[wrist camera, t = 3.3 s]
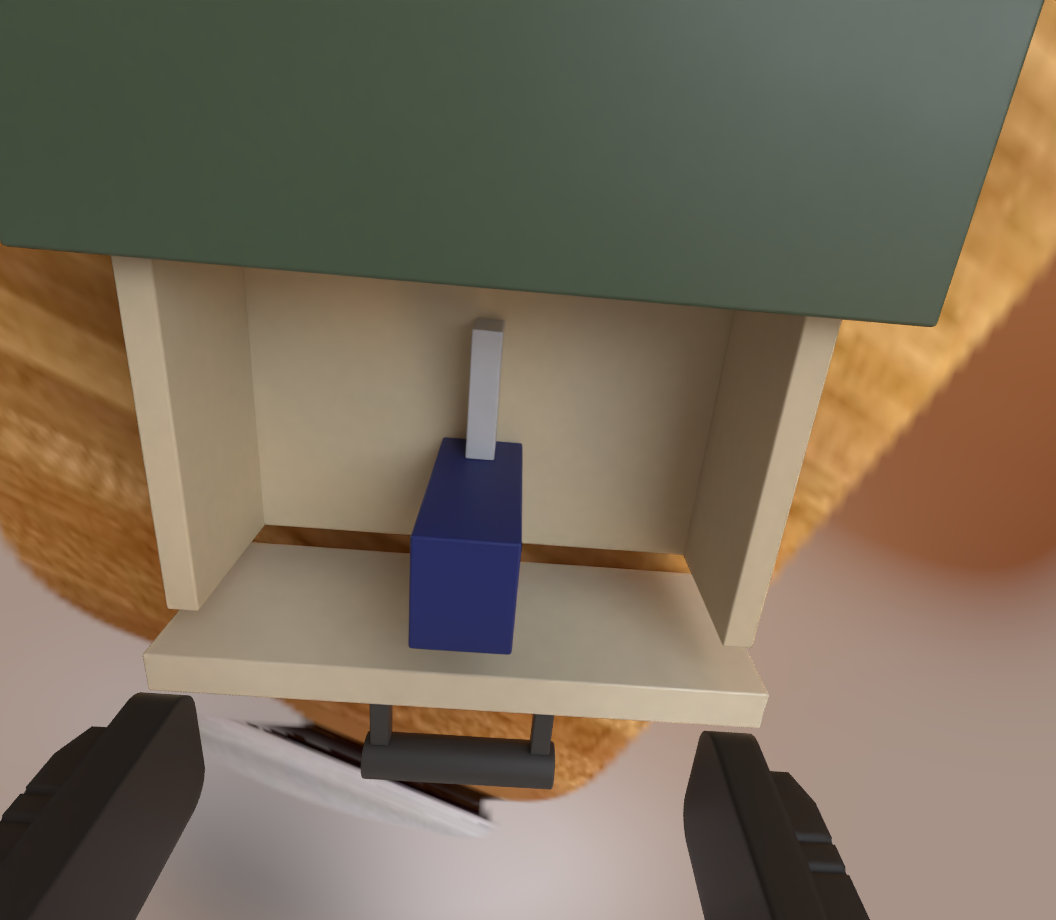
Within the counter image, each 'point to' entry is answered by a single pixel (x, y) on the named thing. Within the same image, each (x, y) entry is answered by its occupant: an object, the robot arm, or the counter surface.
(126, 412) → the counter surface
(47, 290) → the counter surface
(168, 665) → the drawer
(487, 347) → the blue block with post
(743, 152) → the cabinet
